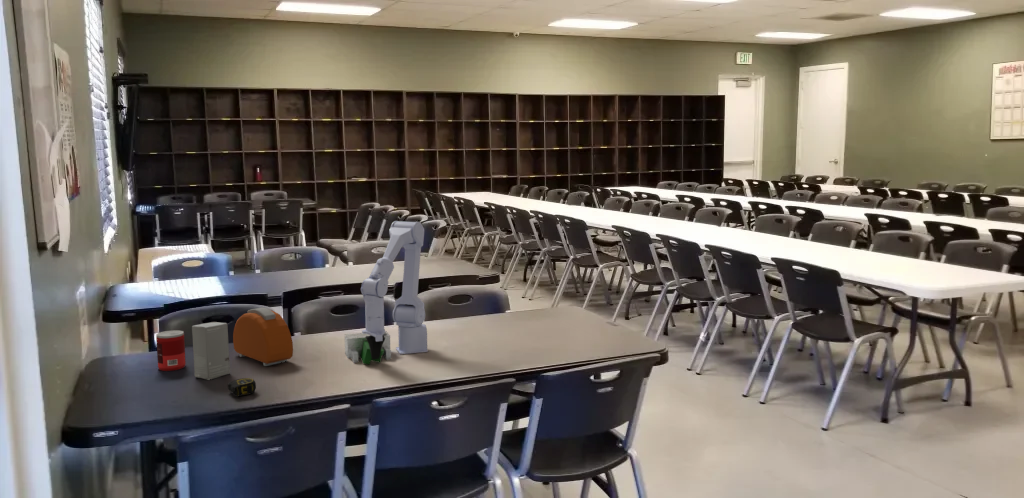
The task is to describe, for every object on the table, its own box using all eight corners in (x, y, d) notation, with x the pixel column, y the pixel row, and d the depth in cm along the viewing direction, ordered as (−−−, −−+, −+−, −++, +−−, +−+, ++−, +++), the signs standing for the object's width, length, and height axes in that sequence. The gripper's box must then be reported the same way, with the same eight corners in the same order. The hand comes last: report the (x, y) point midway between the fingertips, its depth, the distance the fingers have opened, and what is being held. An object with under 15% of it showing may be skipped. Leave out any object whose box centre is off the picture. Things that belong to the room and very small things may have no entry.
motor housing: (386, 349, 257) (386, 329, 256) (394, 359, 245) (393, 338, 244) (345, 353, 252) (344, 332, 251) (350, 363, 240) (349, 341, 239)
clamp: (377, 375, 241) (384, 354, 237) (360, 372, 239) (367, 351, 235) (377, 354, 250) (383, 333, 247) (360, 351, 248) (366, 331, 245)
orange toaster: (294, 363, 240) (292, 311, 238) (268, 369, 234) (266, 316, 232) (257, 350, 256) (255, 301, 254) (232, 355, 250) (230, 305, 248)
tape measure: (227, 393, 211) (226, 380, 210) (252, 388, 215) (251, 375, 214) (233, 399, 205) (233, 386, 205) (259, 395, 209) (258, 382, 208)
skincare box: (208, 380, 221) (206, 328, 219) (192, 377, 225) (189, 325, 223) (232, 373, 229) (229, 322, 227) (215, 370, 232) (213, 319, 230)
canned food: (191, 365, 237) (189, 331, 236) (172, 372, 230) (170, 337, 228) (171, 363, 240) (169, 329, 238) (152, 369, 232) (150, 335, 231)
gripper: (358, 312, 241) (359, 353, 242) (365, 322, 227) (366, 365, 229) (380, 310, 243) (381, 352, 245) (388, 320, 229) (389, 363, 231)
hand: (375, 358), depth 237 cm, fingers closed
